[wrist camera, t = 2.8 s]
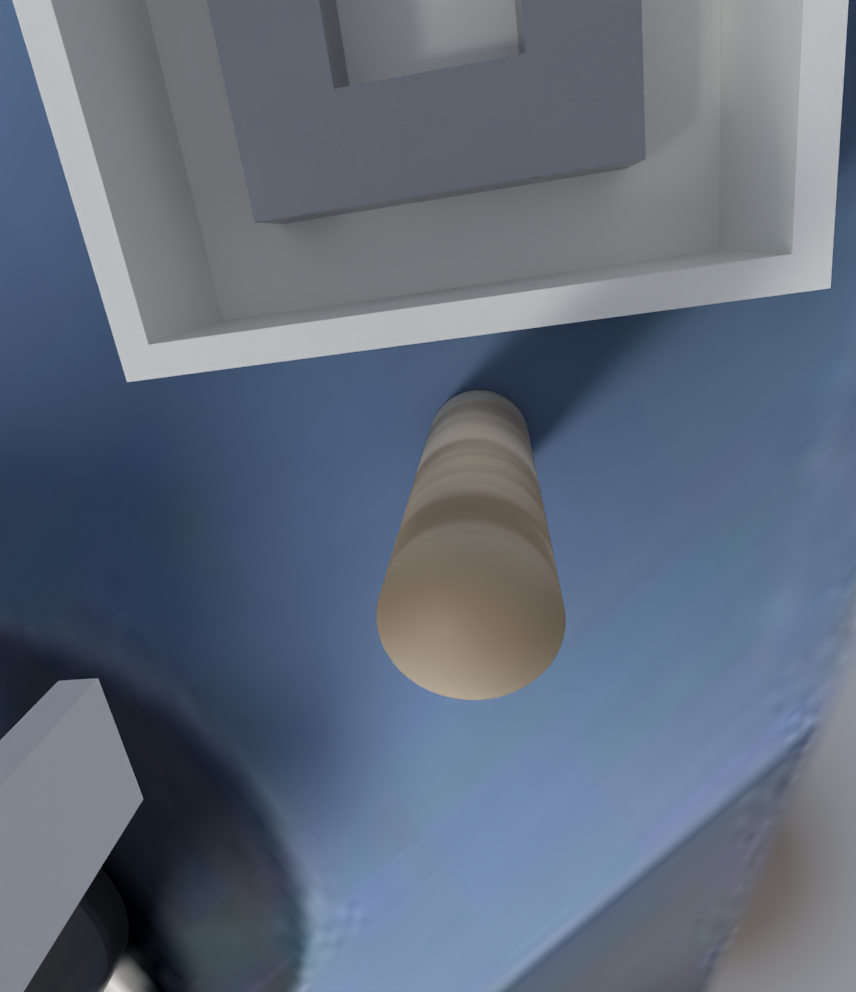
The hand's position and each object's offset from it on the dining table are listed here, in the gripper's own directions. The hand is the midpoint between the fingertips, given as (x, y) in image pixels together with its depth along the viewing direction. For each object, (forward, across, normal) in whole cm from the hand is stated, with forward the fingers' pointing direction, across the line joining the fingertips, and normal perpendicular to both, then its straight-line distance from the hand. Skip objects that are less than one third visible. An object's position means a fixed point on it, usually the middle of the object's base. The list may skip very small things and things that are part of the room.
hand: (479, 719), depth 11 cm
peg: (+17, 0, 0) cm, 17 cm away
